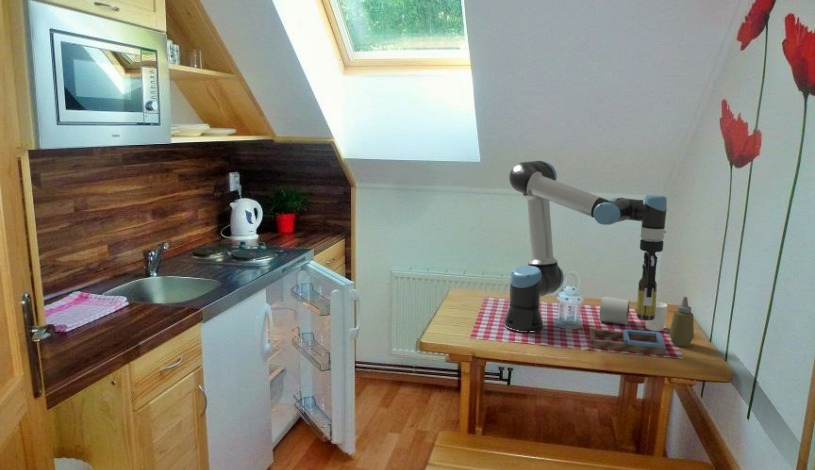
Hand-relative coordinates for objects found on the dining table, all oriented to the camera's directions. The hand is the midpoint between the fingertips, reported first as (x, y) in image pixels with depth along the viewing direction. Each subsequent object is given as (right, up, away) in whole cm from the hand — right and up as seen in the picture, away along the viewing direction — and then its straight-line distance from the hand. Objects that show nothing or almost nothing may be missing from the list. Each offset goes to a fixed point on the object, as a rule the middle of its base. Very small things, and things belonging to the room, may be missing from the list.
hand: (646, 302), depth 210 cm
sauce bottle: (0, -6, +1) cm, 6 cm away
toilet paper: (-2, -12, +29) cm, 31 cm away
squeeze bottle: (+15, -16, +5) cm, 22 cm away
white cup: (+12, -13, +22) cm, 28 cm away
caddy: (-6, -16, +5) cm, 18 cm away
